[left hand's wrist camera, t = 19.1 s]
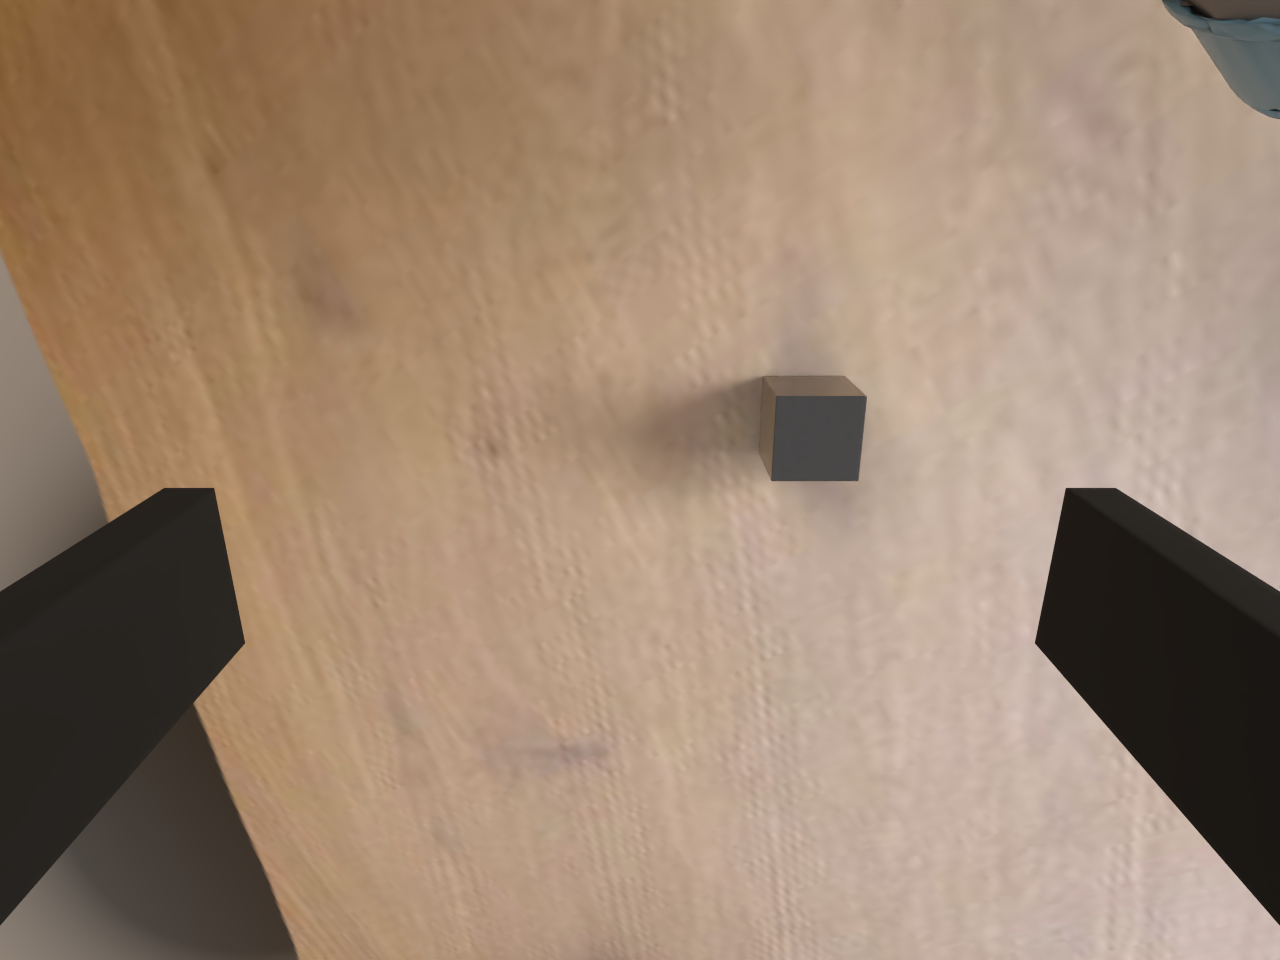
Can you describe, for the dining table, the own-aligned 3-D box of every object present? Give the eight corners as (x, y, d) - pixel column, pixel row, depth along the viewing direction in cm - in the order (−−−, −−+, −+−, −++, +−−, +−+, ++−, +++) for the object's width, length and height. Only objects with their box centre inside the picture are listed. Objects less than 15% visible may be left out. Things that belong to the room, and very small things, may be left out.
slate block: (763, 375, 39) (776, 396, 35) (845, 375, 39) (867, 396, 35) (758, 453, 40) (771, 481, 36) (838, 453, 40) (858, 481, 36)
